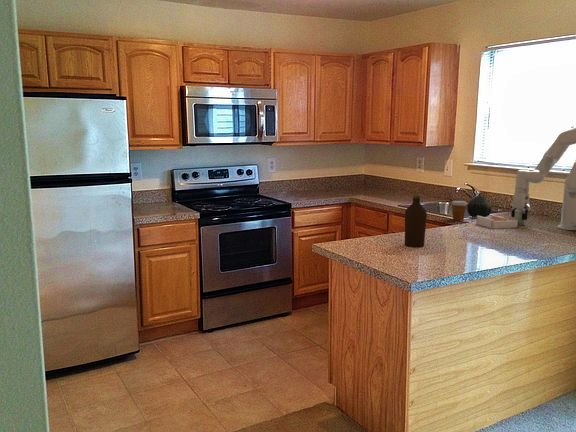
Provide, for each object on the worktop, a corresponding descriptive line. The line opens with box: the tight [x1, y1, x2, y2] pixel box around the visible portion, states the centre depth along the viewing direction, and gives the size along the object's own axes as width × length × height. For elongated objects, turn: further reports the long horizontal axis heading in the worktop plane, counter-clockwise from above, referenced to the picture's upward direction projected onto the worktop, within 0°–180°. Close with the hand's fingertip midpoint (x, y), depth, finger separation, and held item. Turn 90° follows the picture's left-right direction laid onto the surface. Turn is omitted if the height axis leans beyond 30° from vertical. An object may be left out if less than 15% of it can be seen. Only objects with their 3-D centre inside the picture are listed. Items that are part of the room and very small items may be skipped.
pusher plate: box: [490, 214, 508, 221], centre depth 307 cm, size 12×2×5 cm, turn 14°
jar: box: [513, 209, 526, 226], centre depth 310 cm, size 6×6×9 cm
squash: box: [466, 194, 493, 218], centre depth 337 cm, size 14×15×15 cm
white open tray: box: [475, 215, 518, 229], centre depth 307 cm, size 15×17×5 cm
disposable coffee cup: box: [450, 200, 468, 222], centre depth 324 cm, size 10×10×12 cm
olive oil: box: [404, 194, 428, 248], centre depth 251 cm, size 11×11×25 cm
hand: (518, 218), depth 310 cm, fingers open, 9 cm apart
